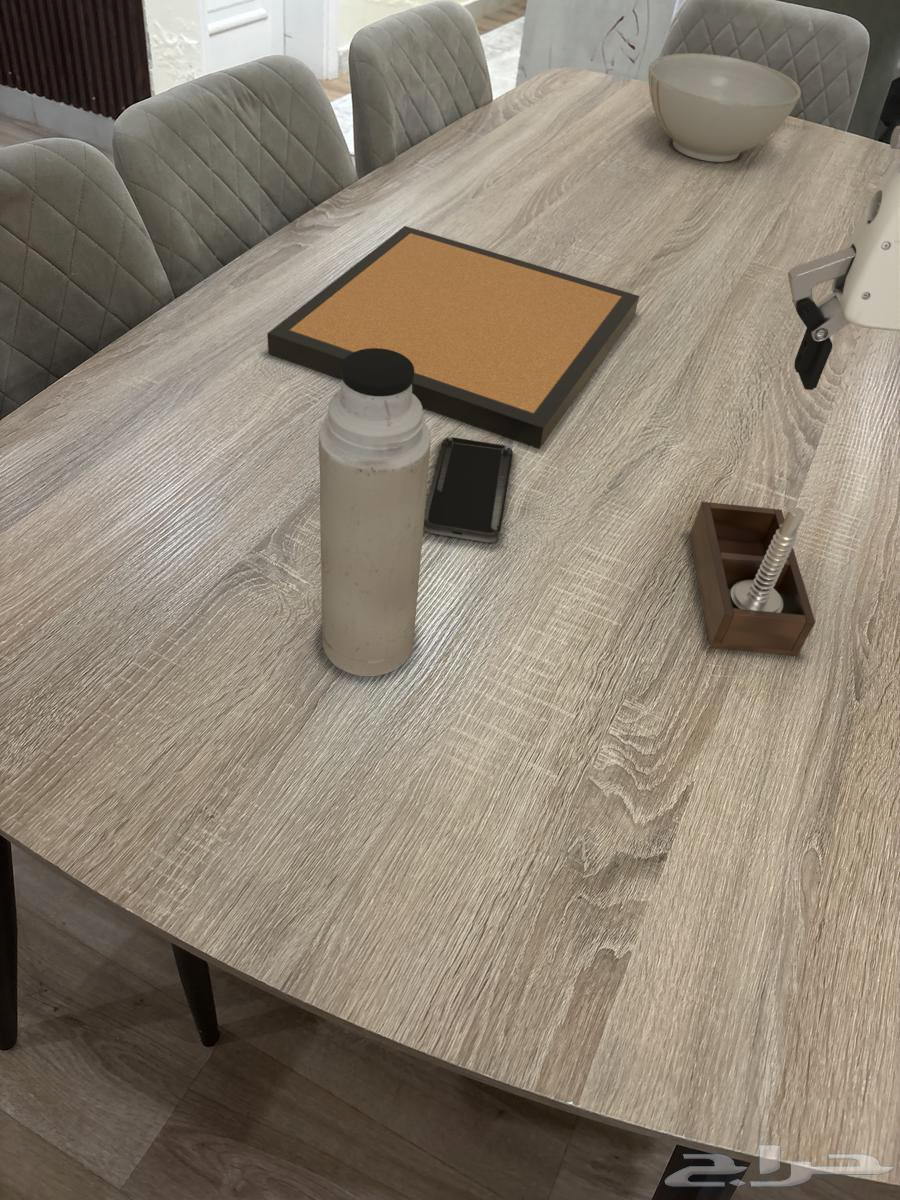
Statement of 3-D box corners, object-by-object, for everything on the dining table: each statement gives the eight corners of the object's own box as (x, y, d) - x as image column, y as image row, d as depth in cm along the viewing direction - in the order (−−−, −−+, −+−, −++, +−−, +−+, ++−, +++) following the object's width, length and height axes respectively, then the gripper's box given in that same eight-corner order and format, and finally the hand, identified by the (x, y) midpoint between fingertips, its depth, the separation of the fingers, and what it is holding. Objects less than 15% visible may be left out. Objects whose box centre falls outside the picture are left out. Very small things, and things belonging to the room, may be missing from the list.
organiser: (766, 543, 97) (781, 509, 93) (797, 656, 86) (815, 622, 83) (689, 535, 96) (701, 501, 93) (710, 647, 86) (725, 613, 82)
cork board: (403, 244, 136) (268, 354, 113) (404, 225, 134) (267, 332, 111) (634, 315, 128) (539, 449, 105) (639, 295, 126) (543, 428, 103)
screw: (781, 608, 89) (767, 640, 86) (732, 588, 90) (717, 619, 87) (833, 503, 80) (819, 534, 77) (778, 482, 81) (762, 512, 78)
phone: (513, 446, 102) (499, 536, 92) (512, 455, 103) (497, 545, 93) (442, 435, 103) (420, 523, 92) (441, 444, 104) (419, 532, 93)
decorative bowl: (604, 138, 173) (618, 66, 165) (691, 112, 187) (708, 45, 179) (722, 190, 161) (744, 115, 152) (806, 159, 175) (830, 89, 166)
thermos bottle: (319, 611, 85) (312, 333, 65) (406, 606, 86) (427, 331, 66) (326, 680, 79) (321, 399, 59) (419, 673, 81) (446, 396, 61)
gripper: (852, 163, 57) (764, 404, 69) (1135, 188, 57) (997, 423, 69) (823, 119, 62) (746, 349, 74) (1082, 142, 62) (963, 368, 74)
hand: (867, 385), depth 72 cm, fingers open, 9 cm apart
